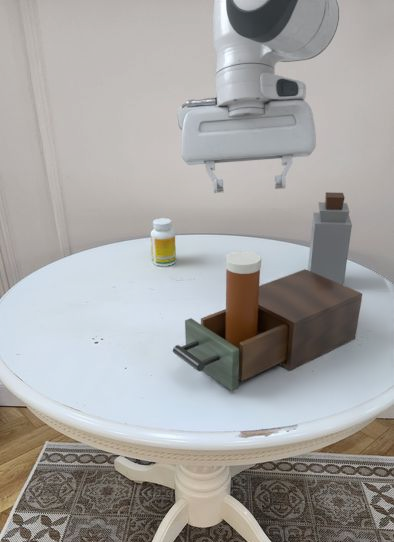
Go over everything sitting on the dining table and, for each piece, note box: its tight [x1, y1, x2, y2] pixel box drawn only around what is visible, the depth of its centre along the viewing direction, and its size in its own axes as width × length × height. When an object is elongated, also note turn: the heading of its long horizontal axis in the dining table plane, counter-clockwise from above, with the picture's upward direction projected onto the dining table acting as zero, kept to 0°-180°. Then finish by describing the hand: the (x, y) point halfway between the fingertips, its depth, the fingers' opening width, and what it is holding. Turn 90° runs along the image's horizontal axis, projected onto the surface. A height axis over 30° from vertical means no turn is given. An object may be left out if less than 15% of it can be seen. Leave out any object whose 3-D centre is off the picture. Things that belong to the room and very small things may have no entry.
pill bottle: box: [225, 250, 262, 349], centre depth 79 cm, size 5×5×16 cm
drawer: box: [172, 308, 290, 392], centre depth 82 cm, size 19×11×7 cm, turn 127°
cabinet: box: [258, 268, 363, 372], centre depth 89 cm, size 16×13×9 cm
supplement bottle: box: [150, 217, 177, 267], centre depth 118 cm, size 5×5×10 cm
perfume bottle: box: [307, 192, 353, 286], centre depth 105 cm, size 7×7×18 cm
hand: (249, 190), depth 82 cm, fingers open, 8 cm apart
